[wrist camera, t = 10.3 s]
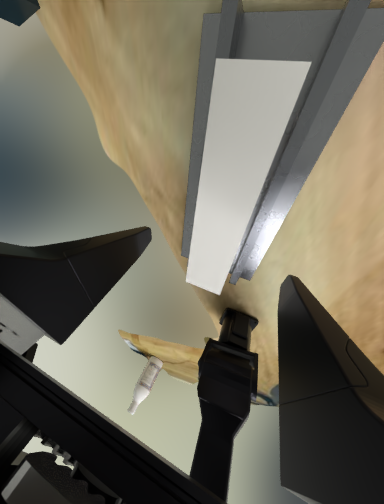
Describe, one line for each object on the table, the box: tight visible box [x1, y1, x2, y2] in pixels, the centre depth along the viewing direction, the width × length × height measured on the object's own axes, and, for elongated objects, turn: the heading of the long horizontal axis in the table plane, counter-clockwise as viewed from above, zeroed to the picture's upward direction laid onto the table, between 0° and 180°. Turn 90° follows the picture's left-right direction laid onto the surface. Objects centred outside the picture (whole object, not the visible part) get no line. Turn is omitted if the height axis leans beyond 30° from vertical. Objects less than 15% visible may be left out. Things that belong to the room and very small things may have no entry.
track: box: [181, 0, 384, 285], centre depth 17 cm, size 24×12×3 cm, turn 173°
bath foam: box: [128, 356, 163, 415], centre depth 68 cm, size 7×7×20 cm
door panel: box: [186, 58, 312, 295], centre depth 14 cm, size 16×4×8 cm, turn 173°
